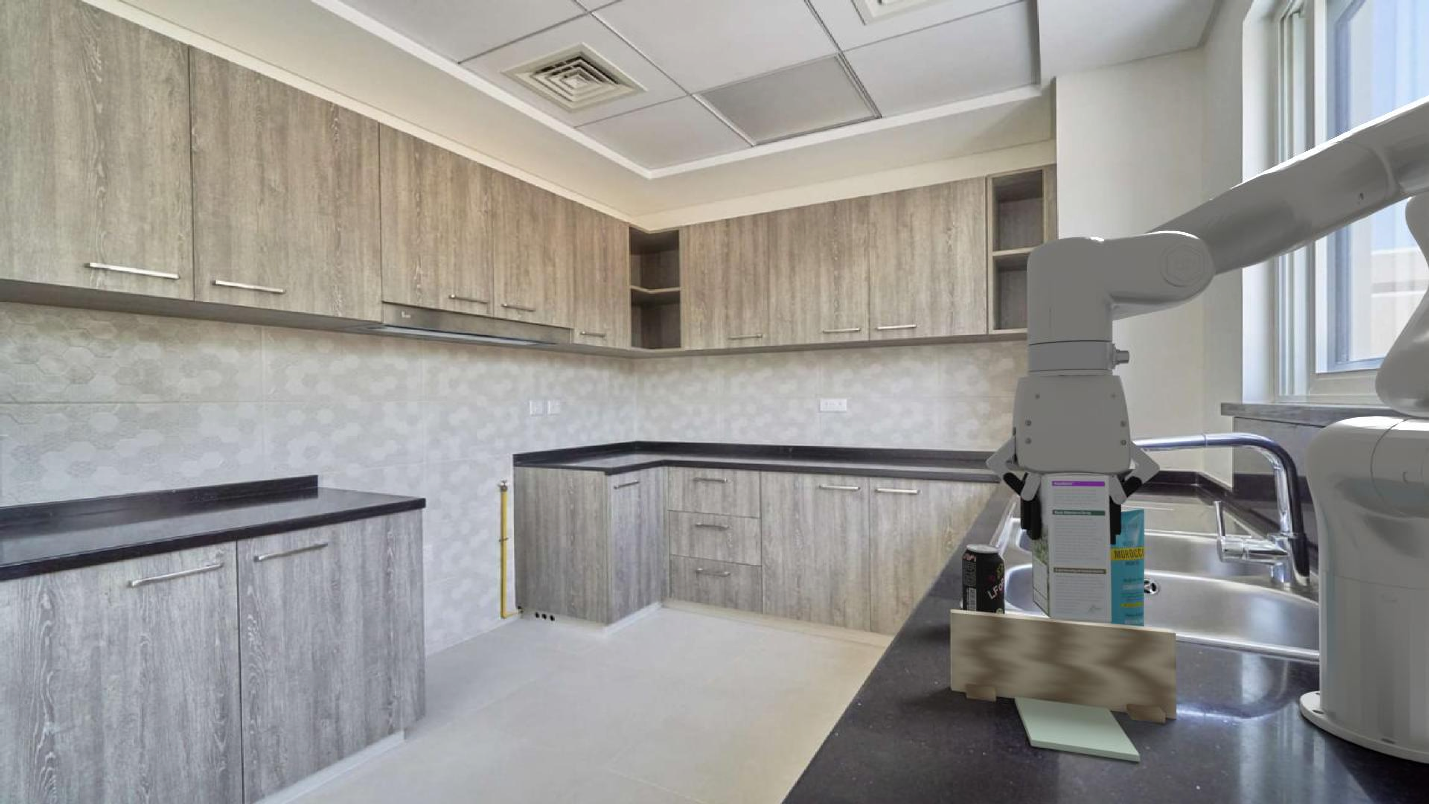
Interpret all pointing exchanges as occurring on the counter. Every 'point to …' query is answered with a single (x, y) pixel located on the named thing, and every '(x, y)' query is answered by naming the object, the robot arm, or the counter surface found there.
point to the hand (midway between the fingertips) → (1069, 537)
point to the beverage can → (983, 579)
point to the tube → (1128, 571)
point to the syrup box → (1073, 548)
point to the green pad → (1074, 729)
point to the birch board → (1065, 662)
